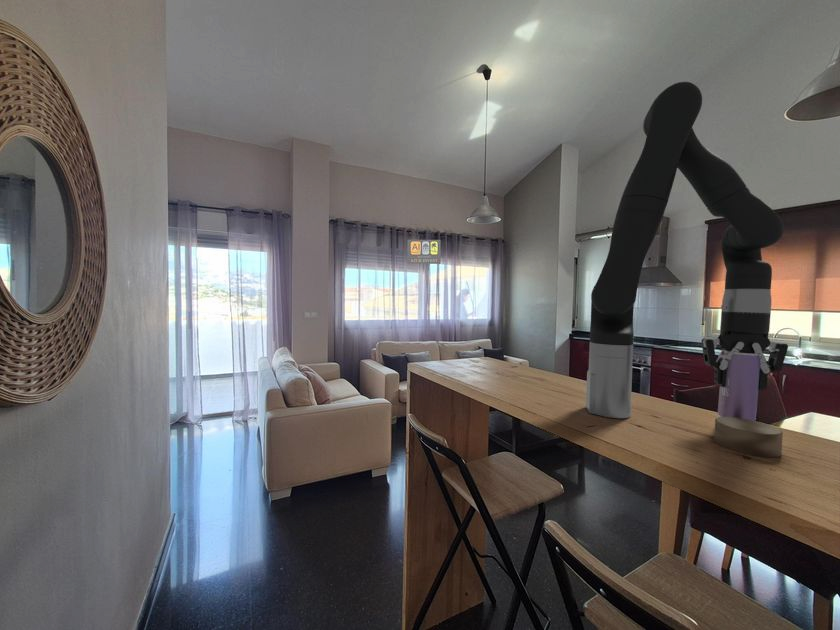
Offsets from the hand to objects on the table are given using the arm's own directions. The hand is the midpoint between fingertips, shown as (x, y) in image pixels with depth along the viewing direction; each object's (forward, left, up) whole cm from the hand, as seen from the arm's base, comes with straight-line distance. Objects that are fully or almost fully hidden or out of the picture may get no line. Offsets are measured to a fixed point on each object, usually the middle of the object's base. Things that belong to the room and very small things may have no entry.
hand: (739, 387), depth 71 cm
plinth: (-4, -11, -9) cm, 15 cm away
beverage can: (0, 0, -7) cm, 7 cm away
